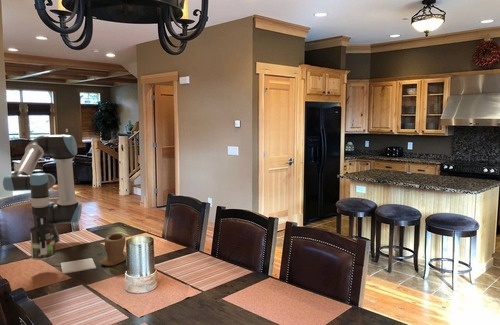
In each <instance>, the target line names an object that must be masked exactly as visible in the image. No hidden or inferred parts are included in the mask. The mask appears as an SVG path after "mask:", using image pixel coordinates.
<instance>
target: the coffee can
mask: <svg viewBox="0 0 500 325" xmlns="http://www.w3.org/2000/svg"><path fill="white" fill-rule="evenodd" d="M29 231H30V247H31V248H30V249H31V259H32V260H34V261H44V260H49V259H52V258H54V257H55V256H56V244H55V243H56V242H55V241H54V226H50V225H46V227H45V232H46V245H47V254H44V255H41V253H40V242H38V240H40V231H39V228H38V226H37V227H34V226H33V227H32V228H30V229H29ZM42 239H43V238H42Z"/></svg>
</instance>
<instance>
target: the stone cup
mask: <svg viewBox="0 0 500 325" xmlns="http://www.w3.org/2000/svg"><path fill="white" fill-rule="evenodd" d="M125 247H126V236H125V235H124V234H123V233H119V232H117V233H110V234H109V235H108V236H106V237H105V239H104V249H105V253H106V257H105V258H102V259H101V260H100V261H99V263H100V264H101V265H103V266H107V267H110V266H111V267H112V266H115V265H117V264H120V263H122V262H124V261H126V260H127V259H126V253H127V252H126V251H125Z"/></svg>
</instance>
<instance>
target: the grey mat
mask: <svg viewBox="0 0 500 325" xmlns="http://www.w3.org/2000/svg"><path fill="white" fill-rule="evenodd" d="M60 267H61V274H63V275H65V274H71V273H76V272H81V271H89V270H93V269H97V266H96V264H95V262H94V259H93V258H92V257H91V258H85V259H84V258H83V259H77V260H71V261H64V262H60Z"/></svg>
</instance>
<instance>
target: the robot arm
mask: <svg viewBox="0 0 500 325" xmlns="http://www.w3.org/2000/svg"><path fill="white" fill-rule="evenodd" d="M77 154H78V144H77V141H76V139H75V137H74V136H73V135H72V134H44V135H40V136H37V137H35V138H34V139H32V140H31V141H30V142H28V144H27V145H26V147H25V149H24V155H22V158H21V159H20V161H19V163H18V165H17V167H16V168H15V170H14V172H13V173H12V175H11V174H9V175H6V176H4V177H3V180H2V186H3V187H2V188H3V189H4V190H5V191H7V192H12V191H13V192H19V191H20V192H22V191H23V192H24V191H30V198H31V199H30V200H29V202H30V203H31V206H32V207H31V214H32V220H33V221H32V222H33V224H32V225H33V227H37V226H38V228H39V231H40V240H38V242H40V253H41V255H44V254H47V245H46V232H45V227H46V225H50V226H54V241H55V243H56V242H58V241H60V234H59V232H58V230H57V227H56V225H57V224H73V223H79V221H81V216H82V212H83V211H82V210H83V209H82V203H79V200H78V198H76V194H75V181H74V180H75V179H74V169H73V160H74V159H75V156H76V155H77ZM44 156H52V159H53V160H54V161H55V165H56V176H57V179H56V178H55V176H54V175H53V174H51V173H45V172H37V173H33V172H34V170H35V168H36V166H37V164H38V163H39V161H40V159H41V158H43V157H44ZM56 180H57V181H56ZM56 183H57V185H58V186H57V187H58V200H57V202H56V204H55V202H54V201H50V194H49V193H50V192H49V190H50V189H52V188H53V187H54V186H55V184H56ZM42 238H43V239H42Z"/></svg>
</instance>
